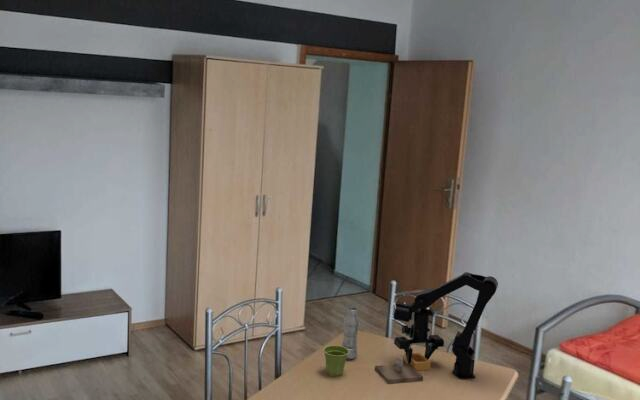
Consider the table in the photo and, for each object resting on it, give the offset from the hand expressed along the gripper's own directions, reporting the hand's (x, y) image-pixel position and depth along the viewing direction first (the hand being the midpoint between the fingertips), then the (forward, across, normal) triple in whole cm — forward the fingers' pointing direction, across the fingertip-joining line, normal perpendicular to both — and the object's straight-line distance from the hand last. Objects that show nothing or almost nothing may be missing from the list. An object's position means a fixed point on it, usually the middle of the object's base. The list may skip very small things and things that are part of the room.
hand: (417, 362), depth 254 cm
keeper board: (+1, +11, +7) cm, 13 cm away
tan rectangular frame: (+1, 0, 0) cm, 1 cm away
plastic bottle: (+1, +24, -11) cm, 26 cm away
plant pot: (+1, +34, +1) cm, 34 cm away
